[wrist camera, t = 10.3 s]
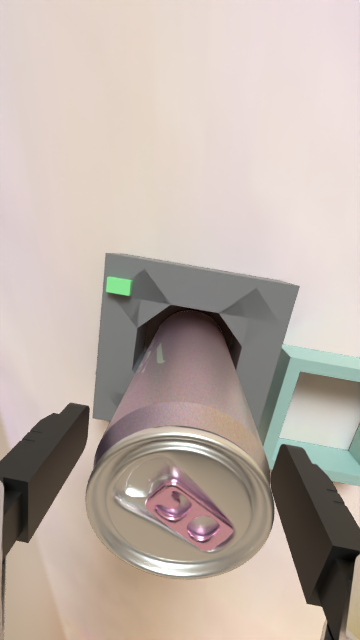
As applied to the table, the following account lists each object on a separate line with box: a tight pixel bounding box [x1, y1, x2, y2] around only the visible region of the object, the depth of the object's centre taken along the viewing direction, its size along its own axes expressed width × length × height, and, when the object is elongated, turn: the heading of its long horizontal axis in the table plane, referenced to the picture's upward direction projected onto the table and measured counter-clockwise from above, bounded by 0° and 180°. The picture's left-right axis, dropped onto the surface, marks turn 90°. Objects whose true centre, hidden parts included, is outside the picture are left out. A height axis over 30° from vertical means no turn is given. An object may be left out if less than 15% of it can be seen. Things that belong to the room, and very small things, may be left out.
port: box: [93, 253, 299, 430], centre depth 19 cm, size 13×13×4 cm
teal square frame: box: [257, 344, 360, 486], centre depth 21 cm, size 10×10×3 cm
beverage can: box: [86, 310, 274, 579], centre depth 14 cm, size 6×6×15 cm
